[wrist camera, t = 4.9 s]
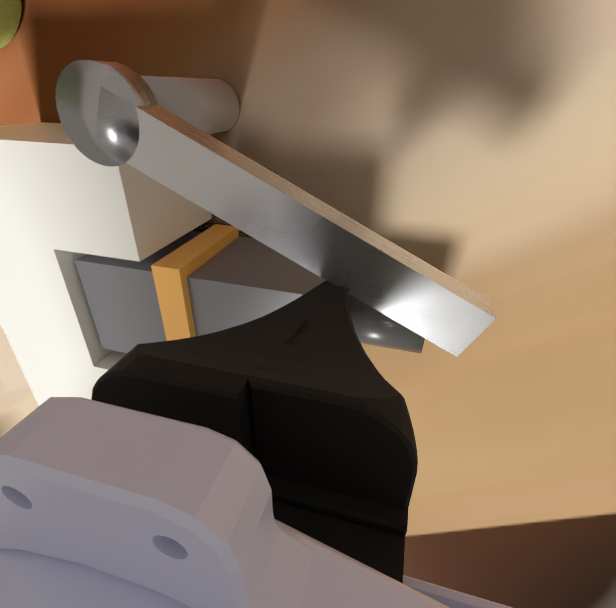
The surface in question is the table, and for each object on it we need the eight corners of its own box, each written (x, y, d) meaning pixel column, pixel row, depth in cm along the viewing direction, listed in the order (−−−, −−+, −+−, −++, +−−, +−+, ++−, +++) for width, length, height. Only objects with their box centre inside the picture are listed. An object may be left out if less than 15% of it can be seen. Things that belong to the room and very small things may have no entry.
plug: (415, 352, 19) (410, 430, 15) (163, 308, 22) (98, 361, 18) (435, 249, 16) (437, 307, 12) (144, 216, 20) (62, 252, 15)
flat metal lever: (503, 287, 10) (509, 304, 10) (444, 348, 12) (446, 367, 11) (88, 43, 10) (58, 39, 10) (79, 134, 12) (53, 137, 11)
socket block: (257, 378, 23) (213, 453, 19) (109, 347, 26) (37, 406, 21) (237, 79, 15) (151, 75, 11) (25, 75, 18) (-122, 71, 13)
